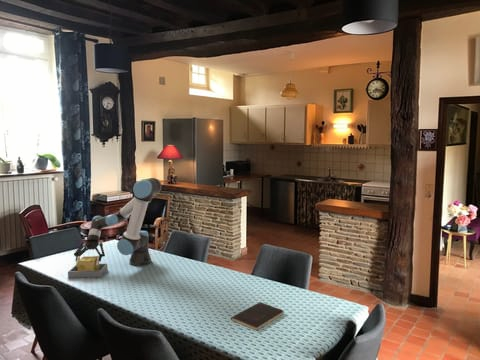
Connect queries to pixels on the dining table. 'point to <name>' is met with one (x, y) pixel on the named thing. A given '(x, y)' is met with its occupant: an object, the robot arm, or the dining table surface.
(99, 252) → the robot arm
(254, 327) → the hardcover book
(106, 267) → the bin
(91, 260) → the cheese
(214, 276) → the dining table surface
